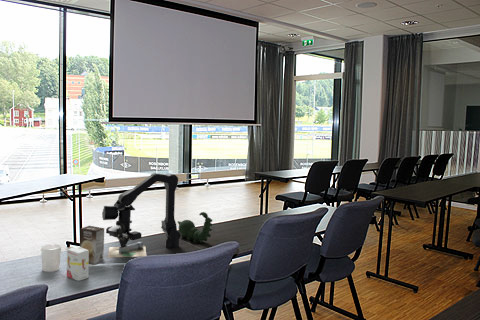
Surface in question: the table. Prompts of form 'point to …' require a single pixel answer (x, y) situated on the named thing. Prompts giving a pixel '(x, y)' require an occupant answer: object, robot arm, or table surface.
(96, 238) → the coffee box
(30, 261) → the table surface
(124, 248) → the grey long bar
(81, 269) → the ink box
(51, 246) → the white cup
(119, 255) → the dial board
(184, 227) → the toy figurine
